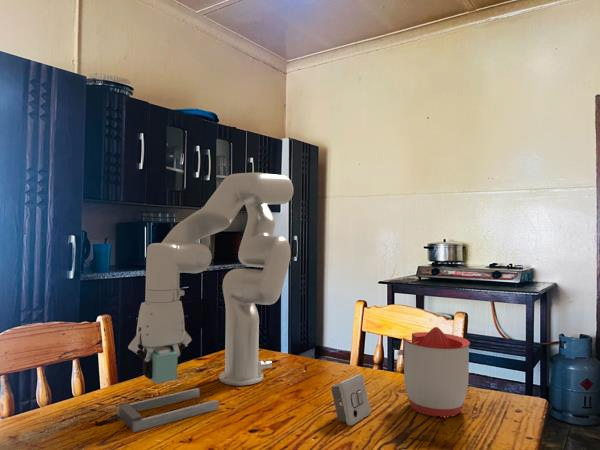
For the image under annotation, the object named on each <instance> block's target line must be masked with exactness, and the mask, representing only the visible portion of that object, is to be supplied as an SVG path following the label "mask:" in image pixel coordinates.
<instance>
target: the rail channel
mask: <svg viewBox="0 0 600 450" xmlns="http://www.w3.org/2000/svg"><path fill="white" fill-rule="evenodd" d="M197 398H200V388H199V387H196V388H192V389H185V390H184V391H178V392H174V393H170V394H165V395H161V396H156V397H151V398H147V399H144V400H143V399H142V400H139V401H135V402H130V403H123V404H120V405H117V416H118V417H119V418H120V419H121V420H122V421H123V423H125V425H126V426H128V428H129V429H130V430H131V431H132V432H133V433H136V432H141V431H145V430H148V429H152V428H154V427H158V426H163V425H166V424H169V423H173V422H176V421H181V420H184V419H188V418H191V417H192V418H193V417H196V416H199V415H203V414H206V413H209V412H213V411H217V410H219V401H218V400H217V399H215V400H211V401H205V402H202V403H198V404H195V405H190V406H186V407H183V408H179V409H174V410H172V411H171V410H170V411H168V412H167V411H166V412H163V413H159V414H155V415H151V416H147V417H143V416H142V415H141V414H140V413H139V412H142V411H147V410H151V409H155V408H160V407H164V406H168V405H172V404H177V403H179V402H180V403H181V402H185V401H187V400H188V401H189V400H191V399H192V400H193V399H197Z"/></svg>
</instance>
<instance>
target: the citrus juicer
mask: <svg viewBox="0 0 600 450" xmlns="http://www.w3.org/2000/svg"><path fill="white" fill-rule="evenodd" d="M470 345H471V342H470V341H469V340H468V339H466V338H464V337H462V336H458V335H455V334H450V333H444V332H443V331H442V329H440V328H439V327H438V326H434V327H433V328H431V329H430V330H429V331H426V332H424V331H422V332H412V334H411V340H409V339H407V338H406V337H403V338H402V349H399V350H398V351H397V354H396V355H397V356H402V359H403V377H404V378H403V379H404V385H405V390H406V394H407V398H408V402H409V404H410V407H411V408H412V409H413V410H414V409H415V410H416V411H415V410H414V411H415V412H418V413H420V414H422V413H423V414H422V415H425V414H426V416H430V415H431V417H435V416H440V417H439V418H442V417H444V416H445V417H447V416H451V417H454V416H453V415H455V416H457V415H456V414H458V413H459V414H461V413H460V412H461V411H462V409H463V407H464V405H465V400H466V397H467V393H468V388H469V375H470V374H469V367H470V366H469V364H470V361H469V360H470V358H469V357H470V356H469V353H470ZM459 414H458V415H459Z"/></svg>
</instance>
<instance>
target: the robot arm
mask: <svg viewBox="0 0 600 450" xmlns="http://www.w3.org/2000/svg"><path fill="white" fill-rule="evenodd" d="M292 182H293V181H292V180H291V179H290V178H289V177H288V176H286V175H283V174H273V173H267V172H266V173H264V172H240V173H232V174H229V175H227V176H226V177H225V178H224V179H223V180H222V181H221V183H220V184H219V186H218V187H217V188H216V189H215V191H214V192H213V194H212V195H211V196H210V198H209V199H208V200H207V201H206V203H205V204H204V206H203V207H201V209H198V210H197V211H195V212H193V213H192V214H190V215H189V216H188V217H186V218H185V219H183V220H181V221H180V222H179V223H178V224H176V225H175V226H174V227H172V229H171V230H170V231H169V232H168V233H167V235H166V236H165V237H164V239H163V240H162V241H161V242H156V243H155V242H153V243H151V244H149V245H148V246H147V247H146V259H145V260H146V263H145V296H144V297H145V299H144V302H141V304H140V307H139V312H138V318H137V326H136V335H135V336H134V338H133V339H132V340H131V341H130V343H129V345H128V346H127V347H128V350H130V351H132V352H133V353H135V354H136V355H137V356H138V357H139V358H141V359H142V374H143V375H145V376H144V378H147V379H148V380H150V379H151V378H152V361H151V356H152V352H153V349H154V348H155V347H162V346H163V347H168V348H169V349H171V350H173V351H175V352H177V353H178V357H177V369H178V366H179V364H178V363H179V362H178V361H179V357H180V356H181V353H182V352H183V350H184V349H185V348H186V346H188V344H190V343H191V342H192V341H193V340H192V339H193V338H191V336H190V335H189V333H188V332H187V331H186V330H185V315H184V307H183V303H182V300H180V299H181V296H183V297H184V296H185V290H184V289H181V288H180V273H187V274H189V273H190V274H198V273H202V272H204V271H206V270H207V269H208V268H209V266H210V265H211V263H212V259H213V257H212V252H211V250H210V248H209V247H208V246H207V245H205V244H203V243H200V242H198V241H200V240H201V239H203V238H205V237H208V236H212V235H215V234H217V233H220V232H222V231H225V230H226V229H228V228H229V227H230V226H231V225H232V223H233V221H234V220H235V218H236V217H237V216H238V213H239V212H240V210H241V209H242V208H243V206H245V208H246V213H247V222H246V226H245V229H244V231H243V234H242V235H243V236H242V239H241V241H240V245H239V249H238V255H237V256H238V261H239V262H240V263H241V264H242V265H244V266H247V267H254V268H255V269H254V268H253V269H252V268H233V269H231V270H230V271H227V273H226V274H225V276H224V278H223V279H222V280H223V281H222V293H223V298H224V304H225V305H224V307H225V338H224V339H225V342H224V343H225V345H224V347H225V348H224V350H225V351H224V352H225V353H224V354H225V355H224V371H222V372H220V373H219V378H218V379H219V381H220V382H221V383H223V384H225V385H228V386H250V385H254V384H255V385H256V384H258V383H260V382H261V381H262V380H263V379H264V373H263V371H264V369H269V368H272V366H273V362H272V361H271V360H267V361H263V360H259V348H260V347H259V342H260V341H259V336H260V335H259V334H260V329H259V328H260V327H259V325H260V316H259V312H258V308H257V307H256V304H257V305H265V306H266V305H267V306H270V305H273V304H275V303H276V302H277V301H278V300H279V298H280V296H281V294H282V291H283V287H284V284H285V279H286V276H287V274H288V273H287V272H288V269H289V266H290V261H291V252H292V251H291V246H290V245H291V244H290V242H289V241H288V239H286V238H285V237H284V236H281V235H276V234H275V235H274V231H275V228H276V221H275V220H276V219H275V217H274V214H273V213H272V211H271V209H270V208H269V206H268V205H286V204H287V203H288V202H289V201H291V199H292V198H293V195H294V185H293V183H292ZM256 268H263V269H256ZM139 345H141V346H142V347H143V348H142V349H141V348H140V347H139Z"/></svg>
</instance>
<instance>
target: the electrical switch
mask: <svg viewBox="0 0 600 450" xmlns="http://www.w3.org/2000/svg"><path fill="white" fill-rule="evenodd" d="M330 389H331V393H332V398H333V403H334V407H335V412H336V417H337V421H338V422H339V421H342V422H344V423H346V425H347V426H348V425H351V426H354V425H355V424H357V423H358V422H360V421H361V420H363V419H364V417H365V418H367V416H369V414H370V415H371V412H372V409H371V404H370V402H369V397H368V391H367V388H366V383H365V380H364V376H363V374H362V373H360V374H359V373H358V374H356V375H354V376H351V377H349V378H347V379H345V380H343V381H341V382H338V383H337V384H334V385H331V387H330Z"/></svg>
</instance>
